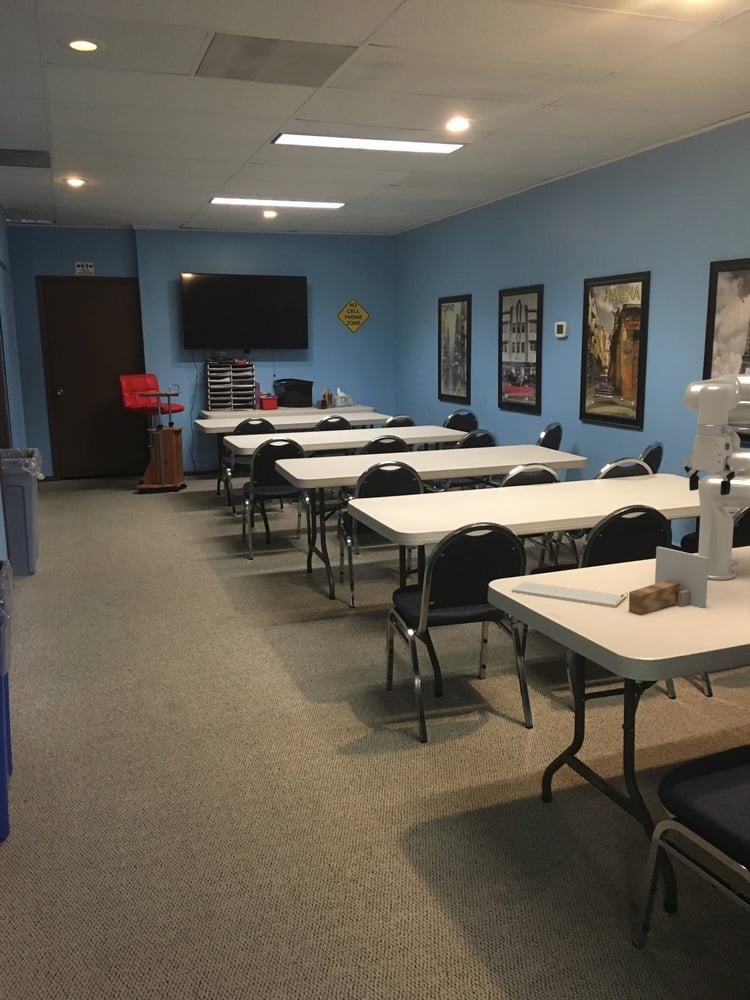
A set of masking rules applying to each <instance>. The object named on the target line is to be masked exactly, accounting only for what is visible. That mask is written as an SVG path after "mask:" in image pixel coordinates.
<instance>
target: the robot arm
mask: <svg viewBox="0 0 750 1000" xmlns="http://www.w3.org/2000/svg"><path fill="white" fill-rule="evenodd" d="M683 400H684V405H685V407H686V409H688V410H690V411H698V413H697V415H698V416H697V431H696V432H697V434H696V435H695V436H694V440H693V444H692V449H691V455H689V456H688V457H686V458H684V459H682V461H681V462H682V465H683V467H684V471H685V472H686V473H687V476H688V477H689V481H688V482H689V483H688V485H689V491H690V492H691V491H697V490H698V496H699V534H698V536H699V537H698V553H697V555H699V556H704V557H708V558H709V562H708V580H713V581H725V580H726V581H727V580H728V581H729V580H732V579H735V578H736V576H737V572H736V571H735V570H733V569H732V568H733V567H734V566H737V565H739V563H740V562H739V560H738V559H737V558H736V559H732V556H733V555H732V553H733V540H734V539H733V537H734V519H733V516H732V515H731V513H730V511H728V509H727V508H726V507H731V508H732V507H733V508H734V507H735V508H736V507H737V508H750V448H744V447H741V446H740V444H741V438H740V437H739V435H738V433H737V432H736V431H735V430H734V429H733V428H732V427H731V426H729V425H728V424H745V425H746V424H748V425H749V424H750V373H742V374H741V373H739V374H737V373H734V374H733V373H730V374H729V373H728V374H723V375H720V376H718V377H716V378H710V379H705V380H698V381H693V382H690V383H689V384H688V385H687V387H686V388H685V391H684V397H683ZM700 472H704V473H709V474H708V475H706V476H703V477H702V478H701V479H700V476H699V475H698V474H699V473H700Z"/></svg>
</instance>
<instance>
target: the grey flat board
mask: <svg viewBox="0 0 750 1000" xmlns="http://www.w3.org/2000/svg"><path fill="white" fill-rule="evenodd" d="M513 592H516V593H515V594H520V593H522V595H527V594H528V596H533V595H534V596H535V597H541V598H548V599H554V600H561V601H567V602H573V603H581V604H588V605H595V606H602V607H608V608H612V609H613V608H615V609H617V608H618V607H619V606H620V605H621V604H622V603H623V602H624V601H625V600H626V599H627V598H629V592H628V591H625V592H626V593H623V594H614V593H608V592H599V591H594V590H586V589H585V590H584V589H579V588H573V587H572V588H571V587H565V586H564V587H563V586H557V585H550V584H542V583H535V582H530V581H529V582H528V581H523V582H522V583H520V584H518V585H517V586H516V587H514V588H512V589H511V593H513ZM625 594H626V595H625Z"/></svg>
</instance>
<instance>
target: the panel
mask: <svg viewBox="0 0 750 1000" xmlns="http://www.w3.org/2000/svg"><path fill="white" fill-rule="evenodd" d="M655 551H656V552H655V553H656V554H655V574H654V575H655V577H654V584H656V583H660V582H663V581H666V580H670V581H674V582H677V583H680V592H678V603H676V604H673V606H676V607H680V608H681V607H682V608H683V607H685V606H689V605H690V606H691V605H692V606H694V607H699V608H702V609H704V608H707V599H708V598H707V597H708V581H709V579H708V562H709V558H708V557H704V556H699V555H698V554H694V553H689V552H684V551H680V550H675V549H672V548H667V547H662V546H656V548H655Z"/></svg>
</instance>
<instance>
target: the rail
mask: <svg viewBox="0 0 750 1000" xmlns="http://www.w3.org/2000/svg"><path fill="white" fill-rule="evenodd" d="M678 592H680V583H677V582H674V581H670V580H666V581H663V582H660V583H656V584H655V583H654V584H650V585H647V586H643V587H641V588H638V589H635V590H631V591H629V592H628V612H630V613H631V614H632V613H633V614H636V615H640V616H642V615H647V614H649V613H651V612H652V613H653V612H654V611H657V610H661V609H663V608H666V607H669V606H672V605H673V604H676V603H678ZM673 606H674V605H673Z"/></svg>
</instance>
